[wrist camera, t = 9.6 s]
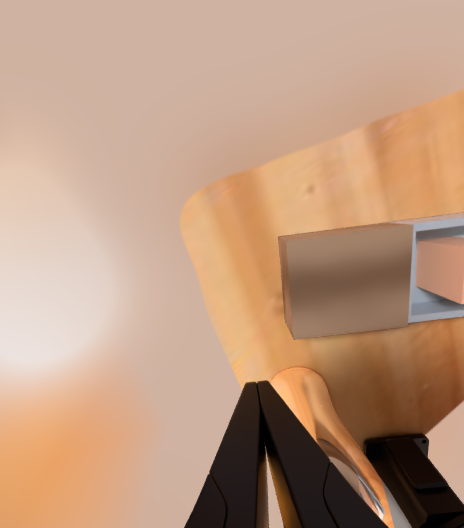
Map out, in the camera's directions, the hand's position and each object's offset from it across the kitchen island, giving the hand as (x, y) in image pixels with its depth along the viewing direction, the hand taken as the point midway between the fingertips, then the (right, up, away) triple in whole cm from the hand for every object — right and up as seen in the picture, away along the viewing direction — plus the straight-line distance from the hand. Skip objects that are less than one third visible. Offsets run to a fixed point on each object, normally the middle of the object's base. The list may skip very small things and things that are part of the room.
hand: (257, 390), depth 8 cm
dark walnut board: (+8, +4, +11) cm, 14 cm away
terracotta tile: (+15, +4, +9) cm, 18 cm away
